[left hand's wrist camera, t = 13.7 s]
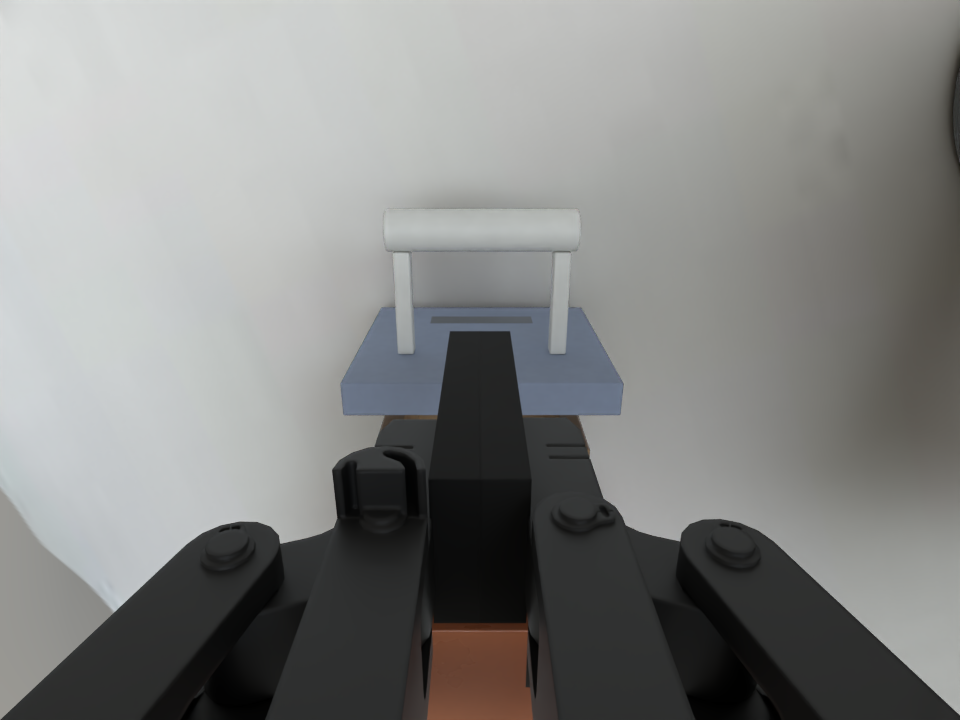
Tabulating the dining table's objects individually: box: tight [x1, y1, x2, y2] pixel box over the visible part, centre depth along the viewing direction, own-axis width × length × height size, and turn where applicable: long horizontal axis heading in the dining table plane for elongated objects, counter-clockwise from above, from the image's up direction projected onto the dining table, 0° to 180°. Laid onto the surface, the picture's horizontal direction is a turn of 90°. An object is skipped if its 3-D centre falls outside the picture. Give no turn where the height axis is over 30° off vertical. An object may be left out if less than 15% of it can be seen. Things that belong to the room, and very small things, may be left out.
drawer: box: [341, 209, 623, 456], centre depth 26 cm, size 25×9×9 cm, turn 0°
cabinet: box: [427, 617, 533, 720], centre depth 31 cm, size 21×10×11 cm, turn 0°
